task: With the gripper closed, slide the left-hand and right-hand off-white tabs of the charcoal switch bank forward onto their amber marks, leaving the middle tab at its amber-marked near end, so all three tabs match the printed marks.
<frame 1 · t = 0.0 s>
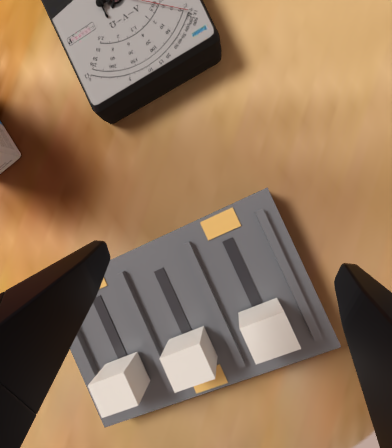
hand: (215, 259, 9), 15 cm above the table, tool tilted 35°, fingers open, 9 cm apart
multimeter: (127, 15, 25), on the table
tab a: (267, 329, 20), point 4 cm above the table, slide at 0.0 cm
tab c: (120, 383, 22), point 4 cm above the table, slide at 0.0 cm
tab b: (190, 357, 21), point 4 cm above the table, slide at 0.0 cm
switch bank: (185, 306, 25), on the table
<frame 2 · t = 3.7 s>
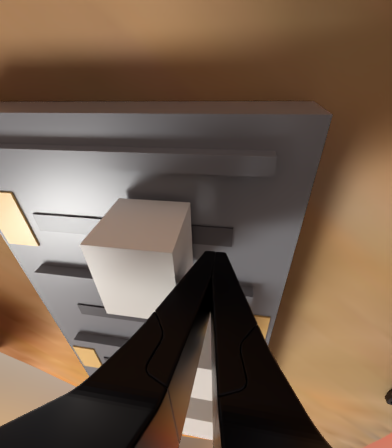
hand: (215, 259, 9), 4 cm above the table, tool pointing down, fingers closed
tab a: (148, 258, 10), point 4 cm above the table, slide at 1.5 cm, touching gripper
tab c: (194, 401, 17), point 4 cm above the table, slide at 0.0 cm
tab b: (191, 352, 13), point 4 cm above the table, slide at 0.0 cm
switch bank: (160, 286, 17), on the table
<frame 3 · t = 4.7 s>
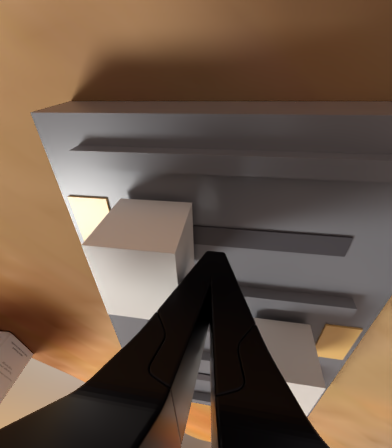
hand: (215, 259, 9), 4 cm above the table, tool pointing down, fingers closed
tab a: (149, 258, 10), point 4 cm above the table, slide at 6.1 cm, touching gripper
tab b: (278, 366, 13), point 4 cm above the table, slide at 0.0 cm
switch bank: (225, 294, 17), on the table
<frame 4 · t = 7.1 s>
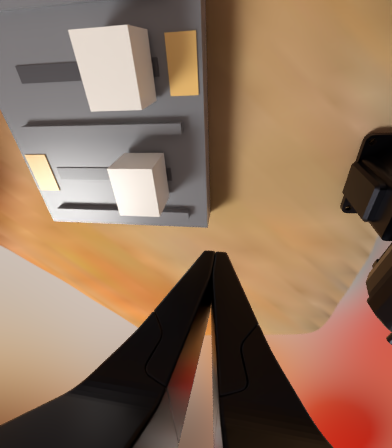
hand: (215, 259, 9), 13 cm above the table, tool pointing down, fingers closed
tab c: (141, 184, 18), point 4 cm above the table, slide at 0.0 cm
tab b: (118, 70, 14), point 4 cm above the table, slide at 0.0 cm
switch bank: (103, 68, 17), on the table
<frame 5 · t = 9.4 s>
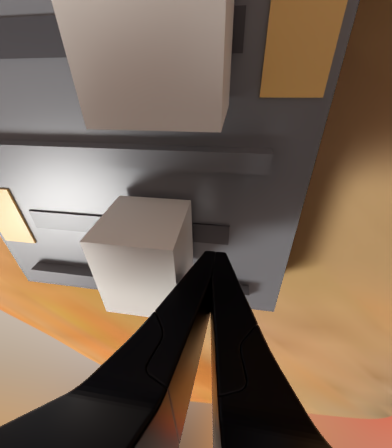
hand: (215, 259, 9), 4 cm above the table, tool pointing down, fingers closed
tab c: (148, 256, 10), point 4 cm above the table, slide at 1.3 cm, touching gripper
tab b: (161, 28, 5), point 4 cm above the table, slide at 0.0 cm
switch bank: (116, 39, 9), on the table
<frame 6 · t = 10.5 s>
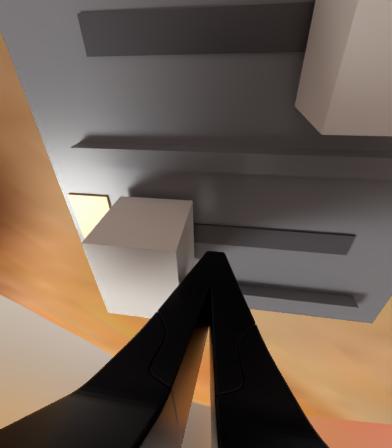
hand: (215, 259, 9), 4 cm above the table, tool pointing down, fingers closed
tab c: (150, 256, 10), point 4 cm above the table, slide at 6.1 cm, touching gripper
switch bank: (247, 35, 8), on the table
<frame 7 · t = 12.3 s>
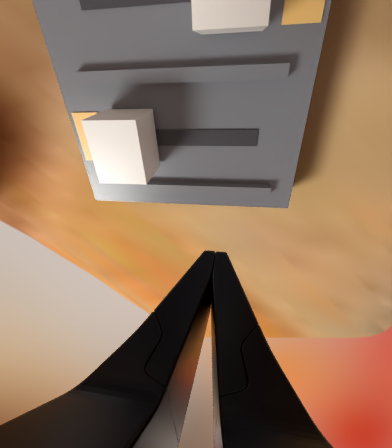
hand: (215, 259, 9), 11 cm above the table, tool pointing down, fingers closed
tab c: (125, 146, 15), point 4 cm above the table, slide at 6.1 cm
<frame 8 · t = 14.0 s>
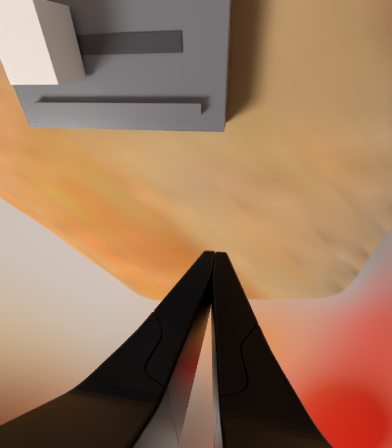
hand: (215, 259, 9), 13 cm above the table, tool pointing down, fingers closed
tab c: (39, 45, 14), point 4 cm above the table, slide at 6.1 cm
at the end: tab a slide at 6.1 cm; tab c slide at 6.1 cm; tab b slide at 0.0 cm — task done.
